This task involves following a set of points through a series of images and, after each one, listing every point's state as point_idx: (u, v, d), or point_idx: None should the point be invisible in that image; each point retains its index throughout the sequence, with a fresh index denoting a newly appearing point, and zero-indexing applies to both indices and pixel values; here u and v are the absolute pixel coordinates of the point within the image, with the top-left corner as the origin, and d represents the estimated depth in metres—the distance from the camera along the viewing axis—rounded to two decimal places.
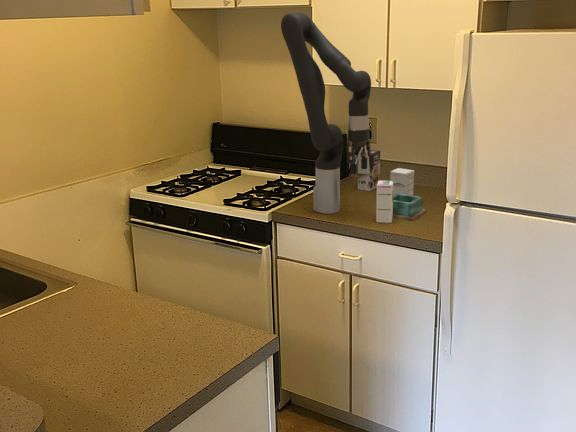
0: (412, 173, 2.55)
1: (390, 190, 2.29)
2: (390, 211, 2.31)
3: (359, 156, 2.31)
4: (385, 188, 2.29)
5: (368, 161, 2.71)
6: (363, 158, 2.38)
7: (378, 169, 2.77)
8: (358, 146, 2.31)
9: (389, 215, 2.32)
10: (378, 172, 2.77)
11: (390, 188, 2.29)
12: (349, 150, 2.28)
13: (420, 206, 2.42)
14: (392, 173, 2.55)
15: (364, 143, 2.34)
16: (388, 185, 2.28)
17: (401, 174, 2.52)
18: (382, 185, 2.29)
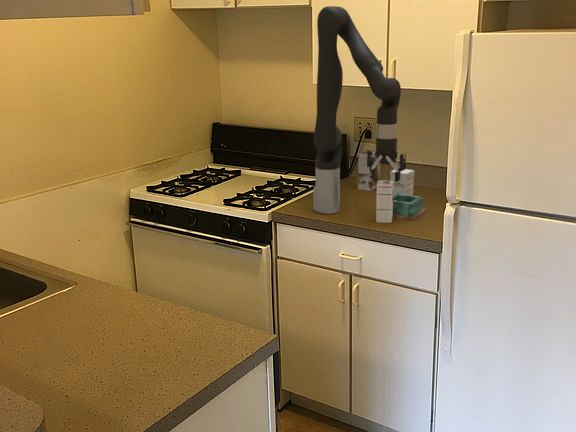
0: (412, 173, 2.55)
1: (390, 190, 2.29)
2: (390, 211, 2.31)
3: None
4: (385, 188, 2.29)
5: None
6: (375, 168, 2.32)
7: (378, 169, 2.77)
8: None
9: (389, 215, 2.32)
10: (378, 172, 2.77)
11: (390, 188, 2.29)
12: (404, 157, 2.24)
13: (420, 206, 2.42)
14: (392, 173, 2.55)
15: None
16: (388, 185, 2.28)
17: (401, 174, 2.52)
18: (382, 185, 2.29)
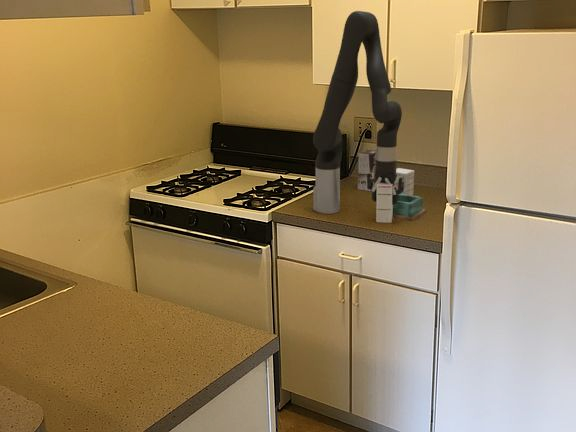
0: (412, 173, 2.55)
1: (390, 190, 2.29)
2: (390, 211, 2.31)
3: None
4: (385, 188, 2.29)
5: (368, 161, 2.71)
6: (375, 190, 2.34)
7: None
8: None
9: (389, 215, 2.32)
10: None
11: (390, 188, 2.29)
12: (402, 181, 2.27)
13: (420, 206, 2.42)
14: None
15: None
16: (388, 185, 2.28)
17: (401, 174, 2.52)
18: (382, 185, 2.29)
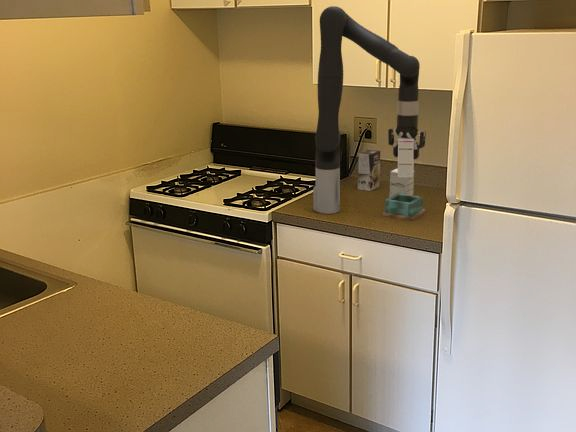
0: None
1: (411, 144, 2.31)
2: (411, 166, 2.34)
3: (415, 140, 2.34)
4: (406, 143, 2.31)
5: (368, 161, 2.71)
6: (397, 146, 2.36)
7: (378, 169, 2.77)
8: None
9: (410, 170, 2.34)
10: (378, 172, 2.77)
11: (411, 142, 2.31)
12: (424, 135, 2.29)
13: (420, 206, 2.42)
14: (392, 173, 2.55)
15: None
16: (409, 139, 2.31)
17: None
18: (403, 140, 2.31)
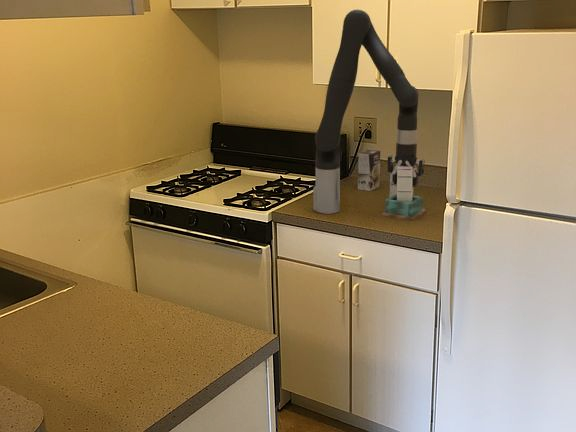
0: None
1: (410, 172, 2.35)
2: (410, 193, 2.37)
3: None
4: (405, 171, 2.35)
5: (368, 161, 2.71)
6: (396, 173, 2.40)
7: (378, 169, 2.77)
8: None
9: (409, 197, 2.38)
10: (378, 172, 2.77)
11: (410, 170, 2.34)
12: (423, 163, 2.33)
13: (420, 206, 2.42)
14: None
15: None
16: (408, 168, 2.34)
17: None
18: (402, 168, 2.35)
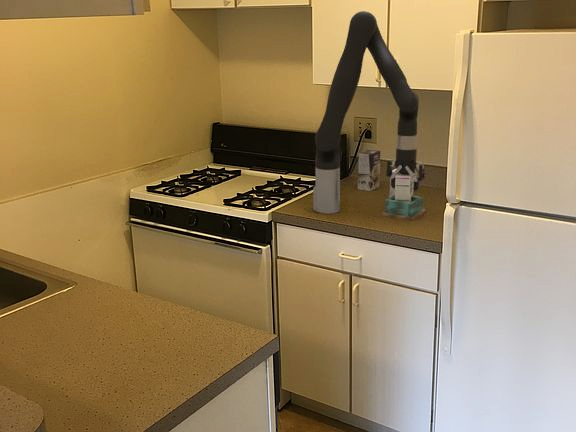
0: None
1: (408, 181, 2.36)
2: None
3: None
4: (403, 179, 2.36)
5: (368, 161, 2.71)
6: (394, 177, 2.40)
7: (378, 169, 2.77)
8: None
9: None
10: (378, 172, 2.77)
11: (408, 179, 2.36)
12: (423, 168, 2.33)
13: (420, 206, 2.42)
14: None
15: None
16: (406, 177, 2.35)
17: None
18: (400, 176, 2.36)
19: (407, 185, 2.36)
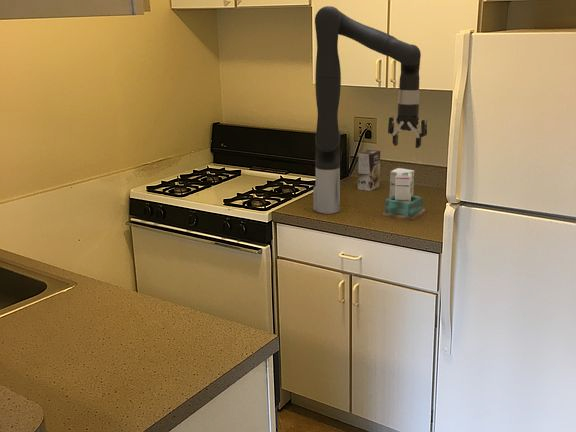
0: (412, 173, 2.55)
1: (408, 181, 2.36)
2: None
3: None
4: (403, 179, 2.36)
5: (368, 161, 2.71)
6: (396, 134, 2.36)
7: (378, 169, 2.77)
8: None
9: None
10: (378, 172, 2.77)
11: (408, 180, 2.35)
12: (425, 123, 2.28)
13: (420, 206, 2.42)
14: (392, 173, 2.55)
15: None
16: (406, 177, 2.35)
17: None
18: (400, 176, 2.36)
19: (407, 185, 2.36)
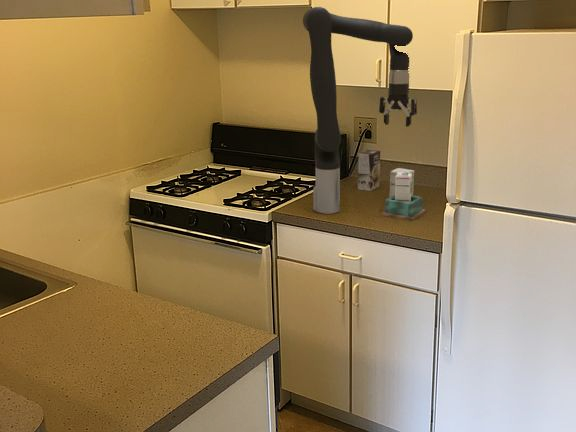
0: (412, 173, 2.55)
1: (408, 181, 2.36)
2: None
3: None
4: (403, 179, 2.36)
5: (368, 161, 2.71)
6: (387, 114, 2.43)
7: (378, 169, 2.77)
8: None
9: None
10: (378, 172, 2.77)
11: (408, 180, 2.35)
12: (415, 102, 2.36)
13: (420, 206, 2.42)
14: (392, 173, 2.55)
15: None
16: (406, 177, 2.35)
17: None
18: (400, 177, 2.36)
19: (407, 185, 2.36)
